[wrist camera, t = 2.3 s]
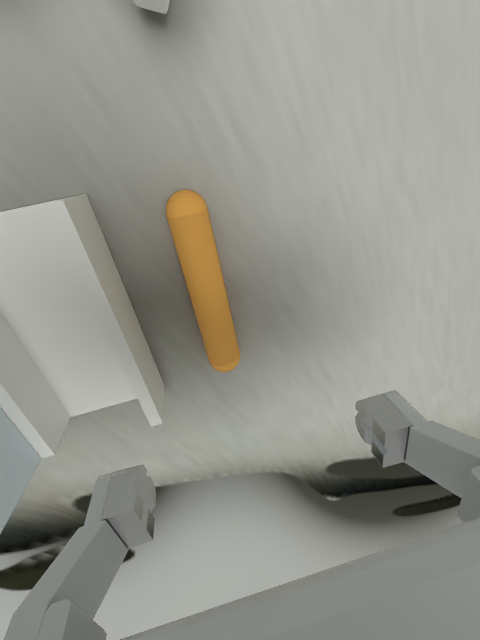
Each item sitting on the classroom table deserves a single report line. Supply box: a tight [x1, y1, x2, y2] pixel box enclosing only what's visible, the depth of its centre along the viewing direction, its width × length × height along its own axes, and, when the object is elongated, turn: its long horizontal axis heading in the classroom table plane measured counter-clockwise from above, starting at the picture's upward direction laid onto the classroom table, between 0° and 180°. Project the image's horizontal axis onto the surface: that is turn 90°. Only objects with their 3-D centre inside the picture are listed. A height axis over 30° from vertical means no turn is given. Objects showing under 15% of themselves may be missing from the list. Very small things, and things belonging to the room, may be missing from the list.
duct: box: [0, 194, 165, 458], centre depth 22 cm, size 10×18×5 cm, turn 11°
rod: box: [166, 190, 240, 372], centre depth 24 cm, size 3×16×3 cm, turn 12°
